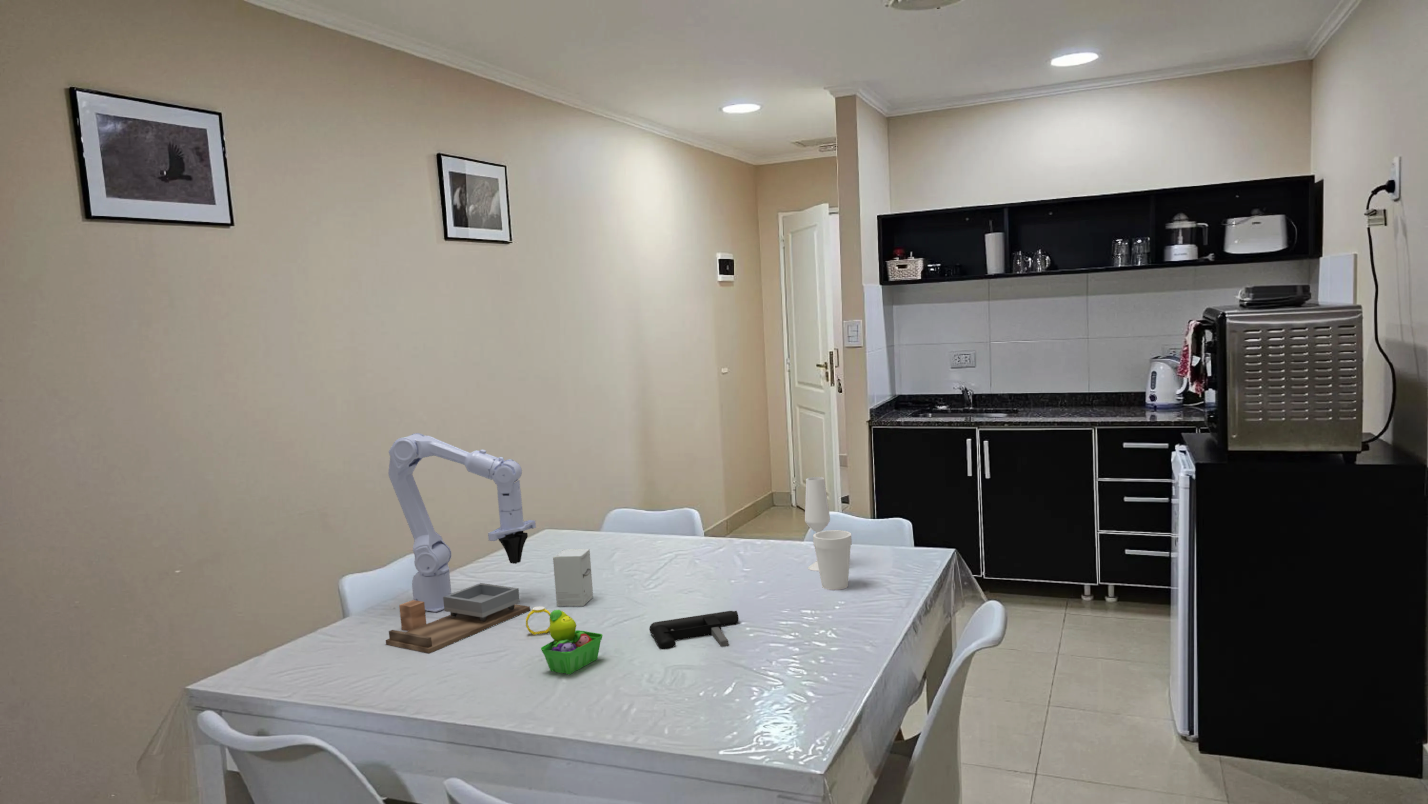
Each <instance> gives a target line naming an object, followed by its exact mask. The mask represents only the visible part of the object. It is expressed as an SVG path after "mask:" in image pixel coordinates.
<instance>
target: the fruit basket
mask: <svg viewBox="0 0 1428 804" xmlns="http://www.w3.org/2000/svg"><path fill="white" fill-rule="evenodd" d="M550 613H551V614H550V616H549V626H550V627H549V635H550V637H551V638H552V641H550V642H549V643H547V644H545V645H543V646H541V647H540V651H541V653H543V656H544V658H545V660H546V664H547V665H548V666H547V667H548V668H549V671H551V672H555V673H559V674H563V673H566V675H568V674H569V675H571V674H573V673H575V672H576V671H578V670H580V669H582V668H583V667H585V666H588V665H590V664H591V663H593V662H595V661H596V660H598V657H599V651H600V649H601V641H602V640H603V634H602V633H597V632H592V631H587V630H586V631H585V630H579V629H577V622H576V621H575V620H574V619H573V618H572V617H571V616H570V615H568V614H567V613H566V612H565V611H563V610H560V609H554V610H552V612H550ZM576 629H577V630H576ZM574 671H575V672H574Z"/></svg>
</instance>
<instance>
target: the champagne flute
mask: <svg viewBox="0 0 1428 804" xmlns="http://www.w3.org/2000/svg"><path fill="white" fill-rule="evenodd" d="M826 489H827V488H826V482H825V478H824V477H823V476H813V477H807V478H806V479H805V497H804V498H805V501H804V507H805V508H804V522H805V524H806V525H807V526H808V527H809V528H810V529H811V530H812V531H813V532H815V533H817V532H822V531H824V529H826V527H827V526H828V524H829V523H830V521H831V515H830V509H829V503H828V495H827V490H826ZM807 569H808V570H809V571H814V572H819V567H818V562H817V560H816V561H815V562H812V563H811V564H810V565H809V566H808V567H807Z"/></svg>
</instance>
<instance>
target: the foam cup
mask: <svg viewBox="0 0 1428 804" xmlns="http://www.w3.org/2000/svg"><path fill="white" fill-rule="evenodd" d="M812 540H813V541H812V542H813V547H814V552H815V556H816V561H817V562H818V567H819V571H818V572H819V576H820V582H821V586H822V588H823V589H824V590H827V591H828V590H829V591H839V590H844V589H846V588H848V585H849V574H850V560H851V550H852V549H851V548H852V547H851V546H852V542H853V539H852V533H851V532H850V531H847V530H837V529H836V530H835V529H833V530H832V529H831V530H822V531H821V532H817V533H816V532H815V533H813V535H812Z"/></svg>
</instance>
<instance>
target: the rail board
mask: <svg viewBox="0 0 1428 804" xmlns="http://www.w3.org/2000/svg"><path fill="white" fill-rule="evenodd" d="M529 610H530V611H531V607H530V606H529V605H522V604H518V603H517V604H515V605H514V609H513V610H509V609H508V607H507V608H505V609H502V610H500V611H497V612H495V613H493V614H490V615H488V616H487V619H486V621H480V617H476V616H471V615H465V614H459V613H457V615H456V616H451V614H449V615H446V616H444V617H441V618H439V619H436V620H434V621H431V622H428V623H426V624H425V625H423V626H420V627H418V628H415V629H413V630H410V631H402V630H400V631H399V630H395V629H391V630H388V636H389V638H387V639H386V640H385V645H387V646H393V647H395V648H396V647H397V648H401V649H402V648H403V649H407V650H411V651H416V652H421V653H425V654H432V653H433V652H436V651H438V650H440V649H443V648H445V646H446V647H448V646H450V645H453V644H455V643H457V642H459V640H460V641H461V639H462V640H464V639H466V637H467V638H469V637H470V635H471V636H474V635H476V634H479V633H481V632H483V631H485V630H484V629H486V628H488V629H489V627H490V628H492V627H491V626H493V625H495V626H497V625H499V624H498V623H500V622H502V623H504V622H506V620H507V621H508V619H509V620H511V619H513V618H512V617H514V616H516V615H518V616H520V614H521V615H523V614H526V613H527V612H526V611H528V612H530V611H529ZM522 613H523V614H522ZM516 617H517V616H516ZM510 618H511V619H510ZM514 618H515V617H514ZM503 621H504V622H503ZM496 624H497V625H496ZM500 624H501V623H500ZM493 627H494V626H493ZM482 630H483V631H482ZM486 630H487V629H486ZM480 631H481V632H480ZM478 632H479V633H478ZM473 634H474V635H473ZM468 636H469V637H468ZM463 638H464V639H463ZM454 642H455V643H454ZM447 645H448V646H447Z"/></svg>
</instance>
